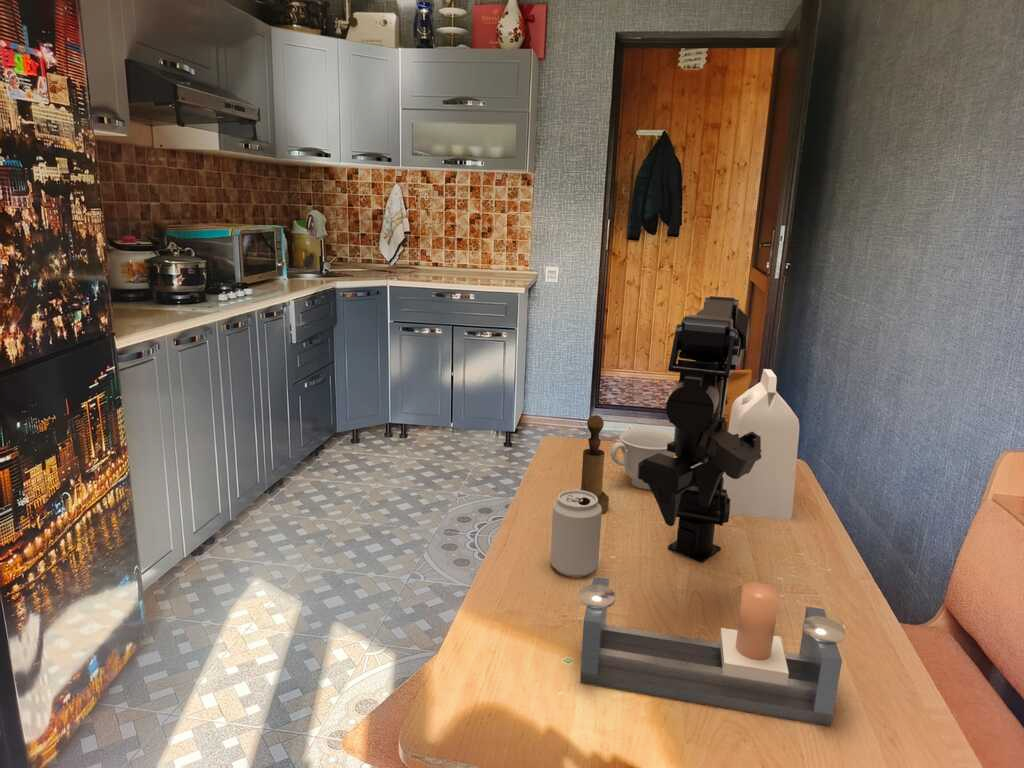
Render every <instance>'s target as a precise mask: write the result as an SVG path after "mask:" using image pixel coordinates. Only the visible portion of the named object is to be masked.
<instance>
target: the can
mask: <svg viewBox="0 0 1024 768" xmlns="http://www.w3.org/2000/svg"><path fill="white" fill-rule="evenodd" d="M556 498H557V499H556V500H555V501H554V503H553V504H552V516H551V517H552V522H551V539H550V541H551V544H550V546H551V547H550V565H552V567H553V568H554V569H555V570H556V571H557V572H558V573H559V574H562V575H563V576H567V577H572V578H582V577H585V576H588V575H590V574H591V573H593V572H594V571H596V570H597V568H598V566H599V562H600V561H599V560H600V547H601V546H600V541H601V527H602V508H601V506H600V504H599V503H598V498H597V497H596V495H594V494H592V493H590V492H587V491H583V490H580V489H568V490H564V491H561V492H560V493H558V495H557V497H556Z"/></svg>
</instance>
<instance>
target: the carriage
mask: <svg viewBox="0 0 1024 768" xmlns="http://www.w3.org/2000/svg"><path fill="white" fill-rule="evenodd" d="M741 590H742V591H741V599H740V606H739V607H740V609H739V616H738V624H737V629H733V628H732V629H731V628H725V627H721V628H720V632H719V642H720V649H721V660H722V670H723V675H727V676H733V677H739V678H745V679H751V680H757V681H763V682H769V683H776V684H782V685H787V682H788V676H789V672H788V667H787V663H786V659H785V655H784V652H785V651H784V646H783V642H782V638H781V636H778V635H774V634H775V629H776V621H777V613H778V606H779V599H780V593H779V591H778V590H777V589H776V588H775V587H773V586H771V585H769V584H766V583H762V582H753V581H752V582H748V583H745V584H743V586H742V589H741Z"/></svg>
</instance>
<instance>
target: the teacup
mask: <svg viewBox="0 0 1024 768" xmlns="http://www.w3.org/2000/svg"><path fill="white" fill-rule="evenodd" d="M674 434H675V433H674ZM674 434H673V433H671V432H669V431H665V430H661V429H654V428H642V427H641V428H632V429H627V430H623V432H621V433H619V435H618V436H619V440H620V441H621V442H620V441H619V442H615V443H614V444H613V445H612V446H611V448H610V451H609V453H610V458H611V461H612V462H614V463H615V464H616V465H619V466H623V467H624V470H625V473H626V475H627V476H628V477H629V478H631V479H632V480H631V484H632V485H633V486H634V487H636V488H637V489H638V488H639V489H643V490H651V489H650V487H649V485H648V484H647V483H644V482H643V480H641V479H638V477H637V474H638V463H640V462H641V461H642V460H644V459H646V458H648V457H651V456H653V455H655V454H658V453H660V454H663V455H666V456H670V457H673V458H675V453H673V452H670V451H667V444H668V443H671V442H673V441H674ZM619 449H620V451H621V453H622V454H623V460H620V459H618V458H617V451H618V450H619Z"/></svg>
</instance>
